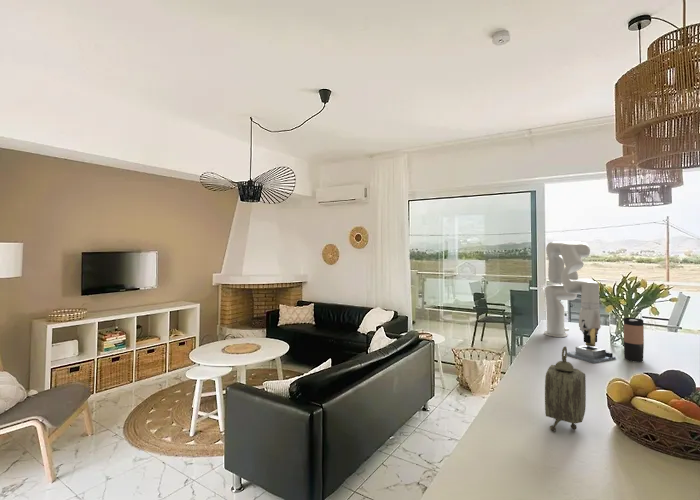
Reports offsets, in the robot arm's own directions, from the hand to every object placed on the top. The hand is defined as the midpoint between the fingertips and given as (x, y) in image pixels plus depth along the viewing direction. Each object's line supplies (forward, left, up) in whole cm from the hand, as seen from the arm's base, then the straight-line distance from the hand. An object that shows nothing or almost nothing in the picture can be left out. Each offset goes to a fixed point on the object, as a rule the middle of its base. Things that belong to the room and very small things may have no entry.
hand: (590, 341), depth 176 cm
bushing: (0, 0, -2) cm, 2 cm away
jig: (0, 0, -8) cm, 8 cm away
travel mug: (-15, +11, -8) cm, 20 cm away
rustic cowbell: (+75, +43, -8) cm, 87 cm away
